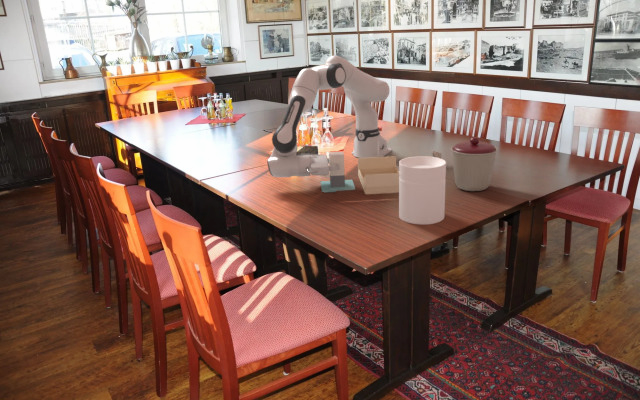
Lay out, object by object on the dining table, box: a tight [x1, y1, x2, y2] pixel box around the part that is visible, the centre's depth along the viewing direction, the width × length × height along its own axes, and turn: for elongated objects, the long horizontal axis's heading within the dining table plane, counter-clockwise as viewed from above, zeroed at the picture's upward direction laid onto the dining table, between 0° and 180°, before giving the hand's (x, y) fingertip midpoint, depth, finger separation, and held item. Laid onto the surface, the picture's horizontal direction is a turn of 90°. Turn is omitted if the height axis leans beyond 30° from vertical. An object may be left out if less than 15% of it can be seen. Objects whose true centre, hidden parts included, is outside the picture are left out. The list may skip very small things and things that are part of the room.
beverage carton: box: [296, 145, 319, 156], centre depth 265 cm, size 8×19×7 cm, turn 162°
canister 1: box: [398, 155, 447, 225], centre depth 183 cm, size 16×16×20 cm
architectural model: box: [432, 150, 442, 159], centre depth 244 cm, size 3×7×7 cm, turn 30°
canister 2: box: [450, 136, 499, 192], centre depth 210 cm, size 18×18×21 cm
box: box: [328, 151, 346, 187], centre depth 221 cm, size 6×5×14 cm
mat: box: [320, 179, 356, 193], centre depth 223 cm, size 14×14×1 cm
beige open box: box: [357, 155, 399, 195], centre depth 222 cm, size 17×27×8 cm, turn 2°
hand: (338, 164), depth 220 cm, fingers open, 8 cm apart
